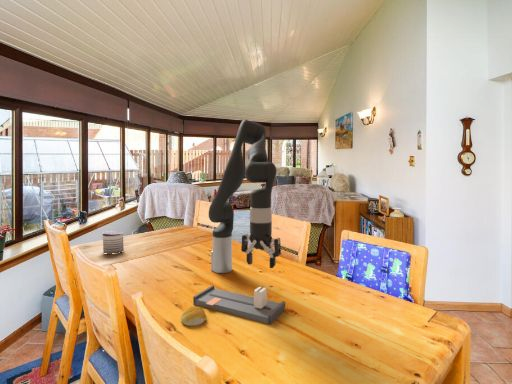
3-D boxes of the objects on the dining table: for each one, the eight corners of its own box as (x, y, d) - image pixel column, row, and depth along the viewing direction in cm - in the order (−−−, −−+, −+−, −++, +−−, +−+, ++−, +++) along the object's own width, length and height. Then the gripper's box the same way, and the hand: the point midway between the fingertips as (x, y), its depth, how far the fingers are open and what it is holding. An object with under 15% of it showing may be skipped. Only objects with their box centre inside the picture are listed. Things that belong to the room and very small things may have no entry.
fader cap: (253, 307, 114) (253, 290, 113) (259, 302, 117) (259, 286, 116) (261, 308, 112) (261, 291, 112) (266, 304, 116) (266, 287, 115)
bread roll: (203, 312, 115) (203, 301, 115) (207, 324, 107) (207, 312, 106) (179, 315, 113) (179, 304, 112) (182, 328, 104) (181, 316, 104)
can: (100, 251, 189) (99, 231, 187) (120, 248, 196) (119, 228, 195) (106, 256, 180) (105, 235, 179) (127, 252, 188) (126, 232, 187)
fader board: (191, 305, 120) (191, 297, 120) (212, 292, 132) (212, 285, 131) (269, 326, 105) (269, 317, 105) (285, 309, 117) (285, 301, 117)
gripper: (284, 220, 112) (283, 265, 113) (248, 216, 118) (248, 260, 120) (275, 223, 105) (274, 272, 107) (237, 220, 112) (237, 265, 113)
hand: (260, 265), depth 113 cm, fingers open, 8 cm apart
